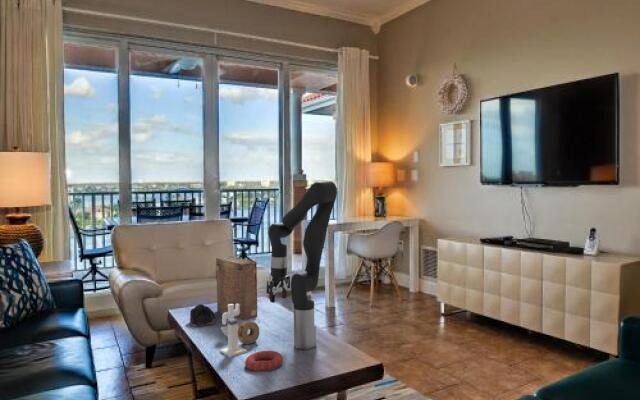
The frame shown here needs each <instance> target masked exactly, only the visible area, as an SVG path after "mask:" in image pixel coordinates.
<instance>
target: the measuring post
mask: <svg viewBox="0 0 640 400" xmlns="http://www.w3.org/2000/svg"><path fill="white" fill-rule="evenodd" d="M238 321H239V320H238V319H237V318H234V319H230V320H228V319H227V320H226V325H227V326H228V336H227V346H228V347H225V348H221V349H219V352H220V353H221V354H223V355H225V356H227V357H229V358H232V357H235V356H238V355H242V354H244V353H247V349H245V348H243V347H241V346H239V344H238V343H239V339H238V327H237V326H238V325H239V324H238V323H239V322H238Z"/></svg>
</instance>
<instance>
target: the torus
mask: <svg viewBox="0 0 640 400" xmlns="http://www.w3.org/2000/svg"><path fill="white" fill-rule="evenodd" d="M283 361H284V358H283V355H282V354H281V353H280V352H278V351H276V350H261V351H256V352H254V353H251V354H250V355H249V356H247V357H246V359H245V361H244V365H245V366H246V368H247V369H248V370H250V371H252V372H253V371H254V372H268V371H271V370H274V369H276V368H278V367H279V366H281V364H282V363H283Z"/></svg>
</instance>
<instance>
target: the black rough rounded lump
mask: <svg viewBox="0 0 640 400" xmlns="http://www.w3.org/2000/svg"><path fill="white" fill-rule="evenodd" d="M189 316H190V317H189V324H190V325H191V326H192V327H194V328H196V327H202V326H210V325H214V324H215V323H216V322H217V321H216V320H217V317H216V314H215V313H214V311H213V310H212V308H210V307H208V306H207V305H206V306H205V305H204V304H201V303H199V304H197V305H196V306H194V307H193V308H192V309H191V310H190V314H189Z"/></svg>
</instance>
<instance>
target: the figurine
mask: <svg viewBox="0 0 640 400" xmlns="http://www.w3.org/2000/svg"><path fill="white" fill-rule="evenodd" d="M239 313H240V305H239V304H236V305H235V310H234V304H228V312H226V313H222V315H221V322H222V323H221V324H222V325H224V326H222V327H220V329H221V332H222V333H223V334H224V336H225V337H228V325H227V320H230V319H235V317H234V316H237V315H239ZM239 326H240V325H237V327H238V329H239Z"/></svg>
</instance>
